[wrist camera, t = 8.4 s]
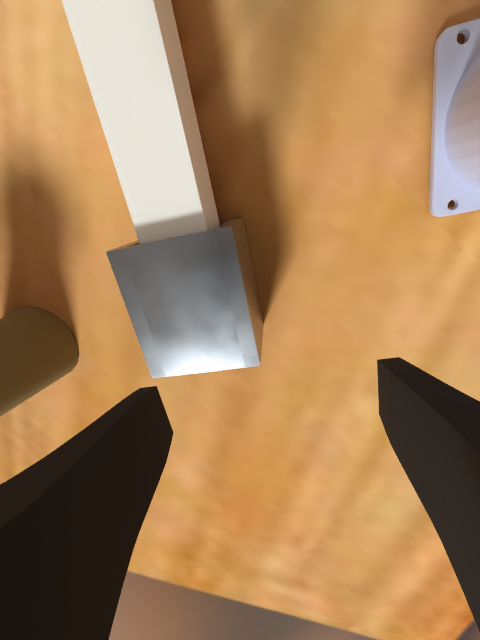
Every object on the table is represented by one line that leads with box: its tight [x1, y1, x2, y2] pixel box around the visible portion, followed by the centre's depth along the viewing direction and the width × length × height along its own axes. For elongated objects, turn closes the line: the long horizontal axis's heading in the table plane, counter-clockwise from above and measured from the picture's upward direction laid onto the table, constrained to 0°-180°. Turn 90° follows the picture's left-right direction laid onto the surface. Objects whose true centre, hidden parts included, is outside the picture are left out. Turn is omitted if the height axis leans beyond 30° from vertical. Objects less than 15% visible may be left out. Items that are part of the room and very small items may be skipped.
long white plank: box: [62, 0, 220, 244], centre depth 13 cm, size 4×19×4 cm, turn 12°
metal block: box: [106, 217, 263, 378], centre depth 17 cm, size 6×7×5 cm
